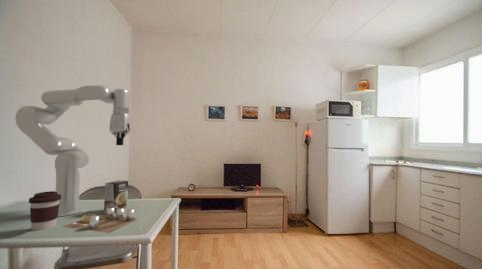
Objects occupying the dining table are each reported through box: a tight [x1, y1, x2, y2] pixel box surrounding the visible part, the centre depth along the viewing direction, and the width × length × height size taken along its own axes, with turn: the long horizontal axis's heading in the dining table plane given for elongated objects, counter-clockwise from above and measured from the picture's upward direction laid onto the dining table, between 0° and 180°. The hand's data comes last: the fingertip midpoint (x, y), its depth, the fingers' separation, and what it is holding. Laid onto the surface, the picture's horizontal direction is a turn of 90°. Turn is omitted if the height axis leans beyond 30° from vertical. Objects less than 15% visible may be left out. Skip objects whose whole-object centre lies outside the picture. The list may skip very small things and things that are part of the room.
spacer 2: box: [106, 207, 116, 219], centre depth 98 cm, size 3×3×4 cm
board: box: [62, 214, 139, 234], centre depth 91 cm, size 24×16×1 cm, turn 76°
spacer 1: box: [89, 214, 100, 229], centre depth 85 cm, size 3×3×4 cm
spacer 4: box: [125, 208, 135, 221], centre depth 95 cm, size 3×3×4 cm
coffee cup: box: [28, 190, 62, 231], centre depth 87 cm, size 10×10×15 cm
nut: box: [81, 213, 96, 223], centre depth 93 cm, size 4×5×2 cm
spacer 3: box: [115, 208, 125, 220], centre depth 96 cm, size 3×3×4 cm
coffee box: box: [103, 180, 129, 215], centre depth 108 cm, size 9×6×16 cm
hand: (119, 145), depth 115 cm, fingers closed
